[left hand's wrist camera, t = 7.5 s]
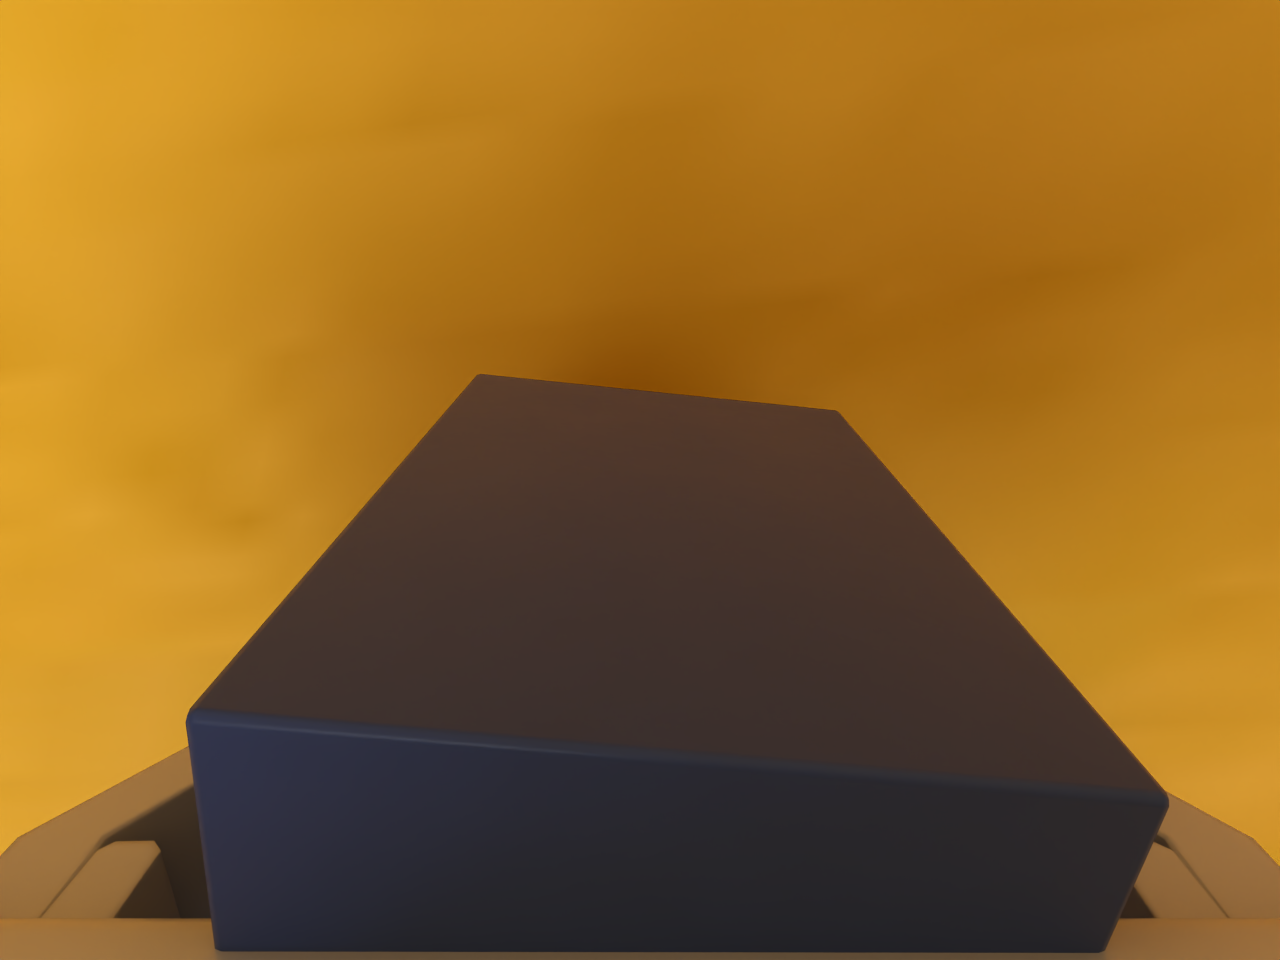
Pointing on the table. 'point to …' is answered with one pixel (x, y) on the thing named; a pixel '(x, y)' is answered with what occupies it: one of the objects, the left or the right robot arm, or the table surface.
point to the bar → (655, 709)
